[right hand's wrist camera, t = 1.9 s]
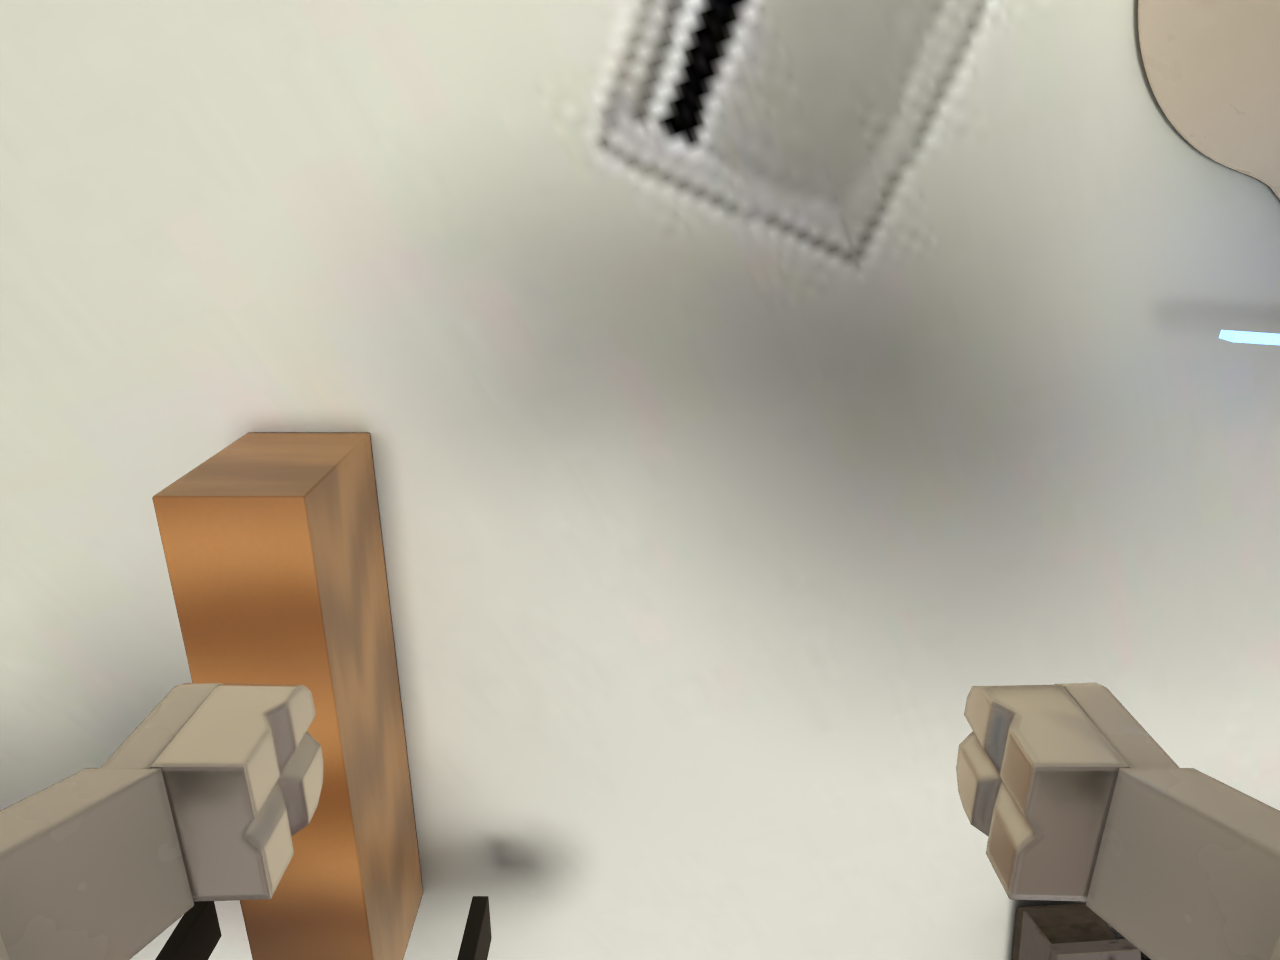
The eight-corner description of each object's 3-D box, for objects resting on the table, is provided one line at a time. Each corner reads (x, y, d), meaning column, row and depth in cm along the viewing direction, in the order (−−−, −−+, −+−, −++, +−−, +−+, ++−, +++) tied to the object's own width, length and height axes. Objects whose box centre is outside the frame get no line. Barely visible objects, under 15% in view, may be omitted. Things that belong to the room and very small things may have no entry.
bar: (246, 432, 37) (150, 496, 30) (370, 432, 37) (304, 496, 30) (325, 892, 47) (266, 1027, 39) (423, 892, 47) (383, 1027, 39)
